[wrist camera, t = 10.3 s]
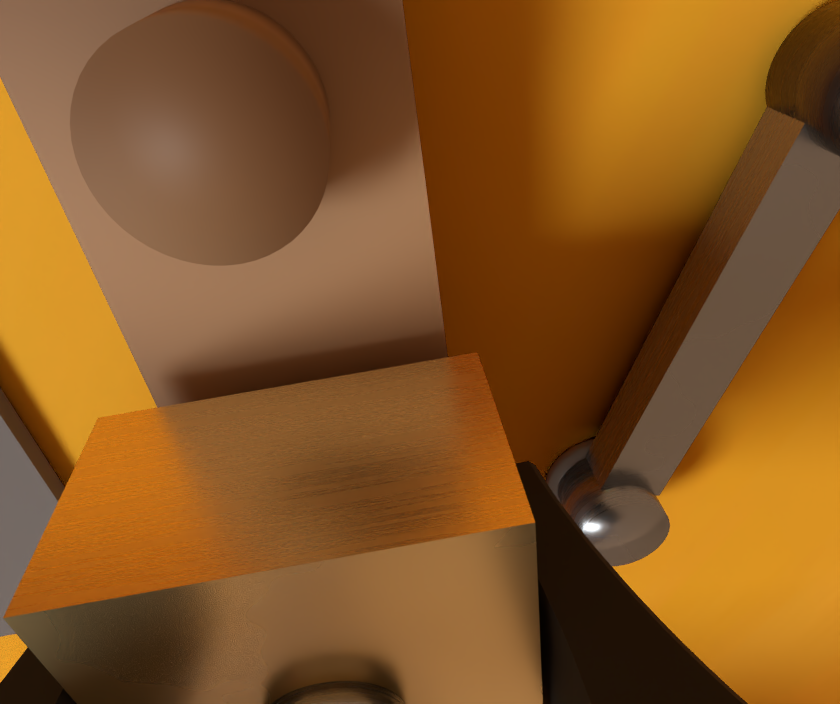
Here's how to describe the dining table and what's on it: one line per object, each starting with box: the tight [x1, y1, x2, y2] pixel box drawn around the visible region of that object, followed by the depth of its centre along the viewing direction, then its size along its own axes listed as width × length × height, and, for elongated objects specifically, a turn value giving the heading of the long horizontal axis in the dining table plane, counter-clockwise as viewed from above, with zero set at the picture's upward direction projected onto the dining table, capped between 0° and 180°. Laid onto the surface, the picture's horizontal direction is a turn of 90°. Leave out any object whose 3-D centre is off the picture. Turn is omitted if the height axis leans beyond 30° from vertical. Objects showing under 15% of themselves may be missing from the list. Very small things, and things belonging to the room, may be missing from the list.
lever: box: [557, 0, 840, 566], centre depth 12 cm, size 2×11×2 cm, turn 166°
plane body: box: [0, 0, 594, 500], centre depth 11 cm, size 14×9×4 cm, turn 8°
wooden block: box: [3, 352, 543, 704], centre depth 9 cm, size 6×5×3 cm
